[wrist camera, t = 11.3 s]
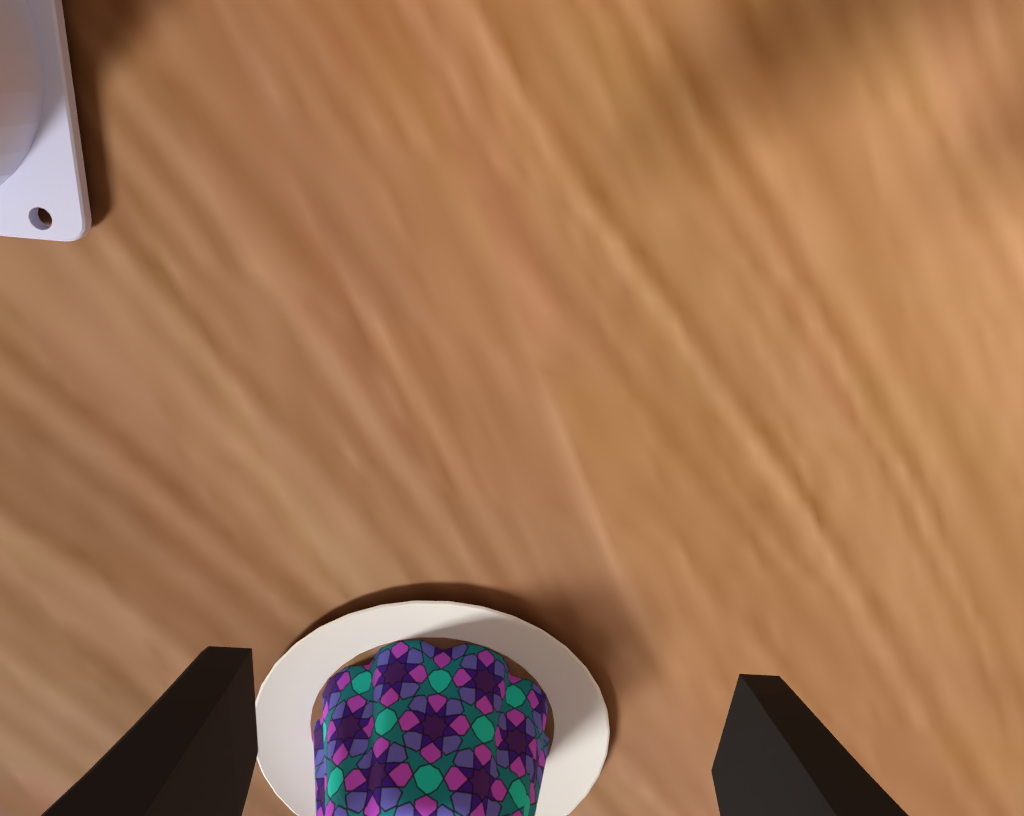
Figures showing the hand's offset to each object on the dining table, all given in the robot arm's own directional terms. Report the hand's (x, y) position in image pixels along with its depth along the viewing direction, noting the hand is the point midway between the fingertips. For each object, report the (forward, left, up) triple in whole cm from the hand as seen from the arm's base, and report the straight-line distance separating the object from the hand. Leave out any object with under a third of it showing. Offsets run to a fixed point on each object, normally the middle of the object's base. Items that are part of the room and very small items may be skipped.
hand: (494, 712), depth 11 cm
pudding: (-1, -12, -11) cm, 16 cm away
